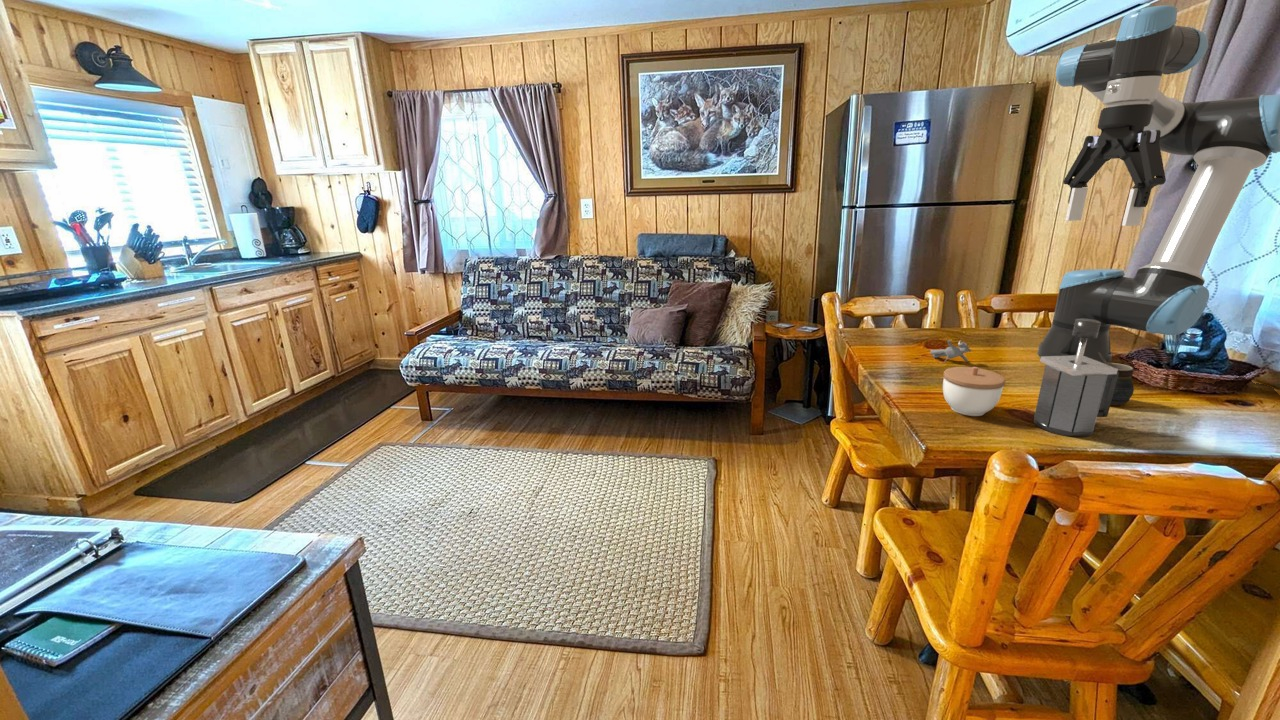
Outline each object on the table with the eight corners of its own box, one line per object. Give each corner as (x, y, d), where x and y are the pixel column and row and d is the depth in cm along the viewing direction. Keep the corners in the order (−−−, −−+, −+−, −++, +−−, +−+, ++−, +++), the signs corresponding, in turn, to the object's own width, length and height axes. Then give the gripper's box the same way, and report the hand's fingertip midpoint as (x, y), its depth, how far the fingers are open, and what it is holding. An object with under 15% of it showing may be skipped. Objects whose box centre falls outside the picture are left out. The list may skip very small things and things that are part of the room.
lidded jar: (927, 401, 117) (934, 360, 115) (974, 399, 118) (982, 358, 115) (959, 422, 107) (967, 378, 104) (1011, 419, 108) (1020, 375, 105)
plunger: (1068, 407, 106) (1090, 316, 101) (1092, 419, 101) (1116, 324, 95) (1040, 408, 106) (1060, 317, 101) (1062, 420, 101) (1085, 325, 95)
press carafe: (1082, 415, 109) (1098, 353, 105) (1122, 435, 100) (1141, 369, 96) (1022, 417, 109) (1035, 355, 105) (1057, 438, 100) (1073, 371, 96)
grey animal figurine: (944, 354, 148) (979, 350, 141) (939, 373, 146) (975, 370, 139) (924, 335, 144) (959, 330, 137) (919, 354, 142) (955, 350, 135)
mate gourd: (1119, 411, 110) (1131, 364, 107) (1077, 399, 117) (1087, 355, 114) (1137, 403, 114) (1149, 358, 111) (1094, 393, 120) (1104, 349, 117)
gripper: (1056, 113, 112) (1036, 219, 119) (1172, 95, 89) (1138, 228, 95) (1092, 112, 113) (1069, 218, 119) (1217, 94, 89) (1180, 227, 96)
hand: (1100, 223), depth 107 cm, fingers open, 13 cm apart
